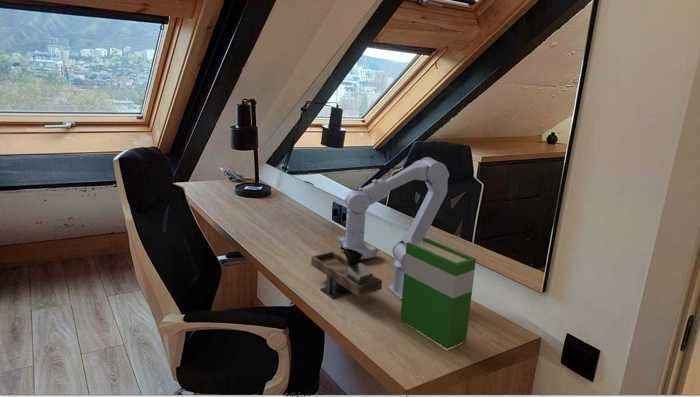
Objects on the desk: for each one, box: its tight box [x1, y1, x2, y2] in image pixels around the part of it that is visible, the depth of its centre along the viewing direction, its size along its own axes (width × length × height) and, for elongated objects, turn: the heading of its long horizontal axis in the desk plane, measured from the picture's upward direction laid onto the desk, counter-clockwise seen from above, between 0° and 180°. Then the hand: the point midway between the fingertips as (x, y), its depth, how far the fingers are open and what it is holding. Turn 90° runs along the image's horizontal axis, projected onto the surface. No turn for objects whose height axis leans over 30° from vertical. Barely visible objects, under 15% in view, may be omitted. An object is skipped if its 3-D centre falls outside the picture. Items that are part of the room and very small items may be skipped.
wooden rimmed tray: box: [310, 251, 383, 297], centre depth 149 cm, size 26×9×3 cm, turn 37°
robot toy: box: [337, 244, 382, 260], centre depth 178 cm, size 12×4×15 cm
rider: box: [347, 262, 374, 286], centre depth 142 cm, size 7×5×5 cm
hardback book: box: [400, 237, 477, 349], centre depth 125 cm, size 18×7×24 cm, turn 37°
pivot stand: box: [319, 275, 353, 300], centre depth 150 cm, size 7×14×6 cm, turn 127°
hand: (352, 271), depth 145 cm, fingers closed, pressing on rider
